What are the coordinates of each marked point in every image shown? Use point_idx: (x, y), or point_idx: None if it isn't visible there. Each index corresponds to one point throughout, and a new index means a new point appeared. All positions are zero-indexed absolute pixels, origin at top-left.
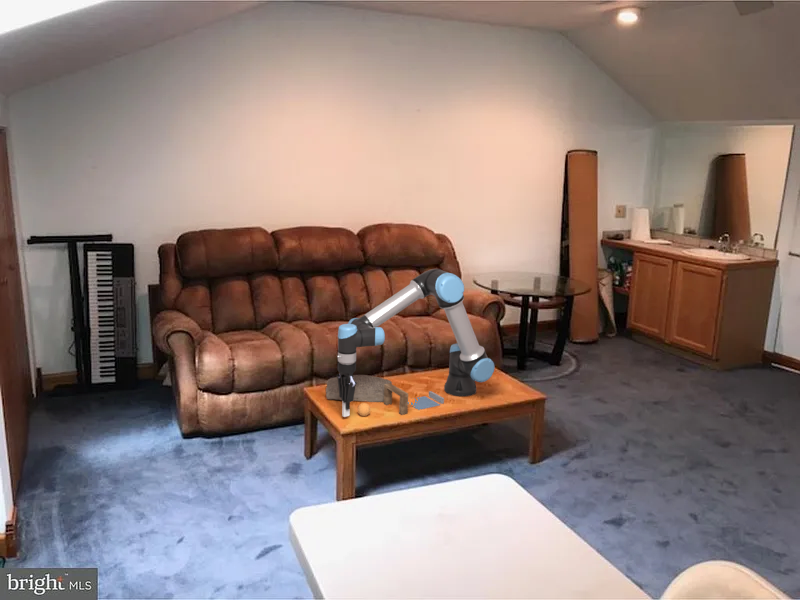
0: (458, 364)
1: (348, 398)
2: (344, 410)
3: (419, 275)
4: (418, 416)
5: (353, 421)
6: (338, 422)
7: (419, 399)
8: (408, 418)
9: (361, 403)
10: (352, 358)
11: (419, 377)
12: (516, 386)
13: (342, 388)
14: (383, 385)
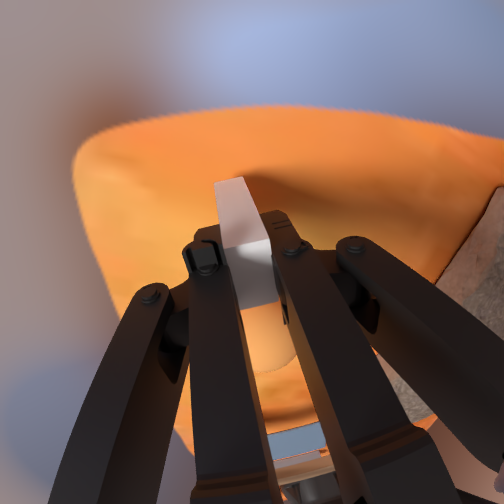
0: None
1: (114, 336)
2: (217, 208)
3: None
4: (188, 435)
5: (183, 232)
6: (192, 128)
7: (311, 442)
8: (175, 419)
9: (287, 348)
10: None
11: (420, 425)
12: (286, 498)
13: (345, 379)
14: (408, 414)
